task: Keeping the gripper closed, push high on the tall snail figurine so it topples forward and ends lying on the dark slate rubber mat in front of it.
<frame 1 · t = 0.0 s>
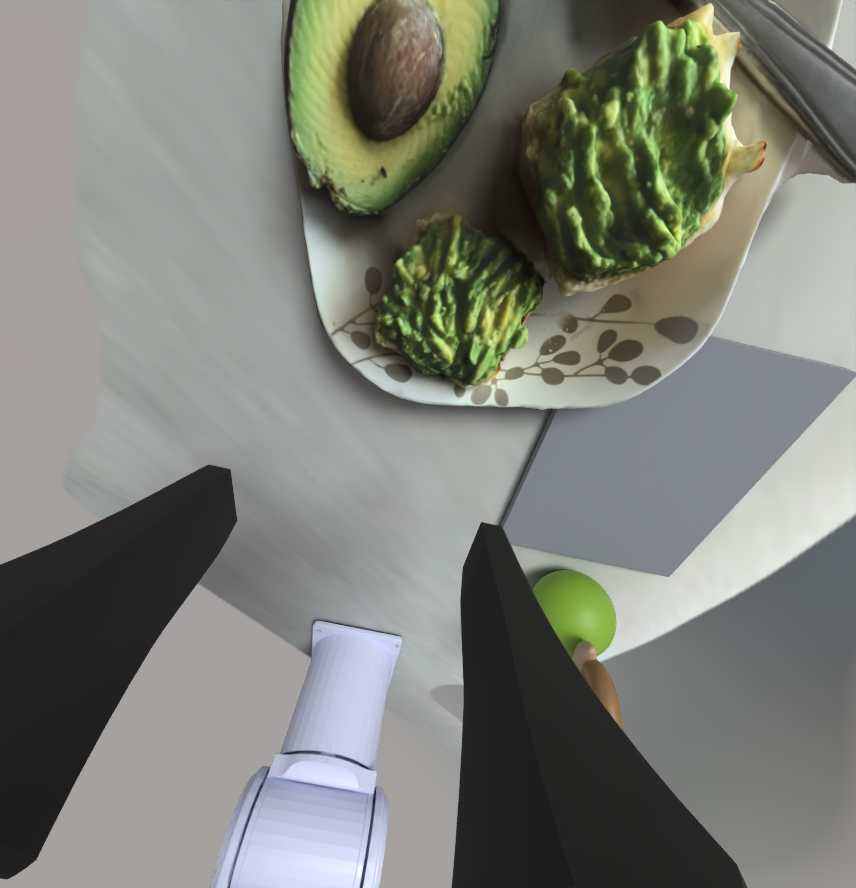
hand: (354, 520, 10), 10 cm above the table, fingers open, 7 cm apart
snail figurine: (560, 580, 27), on the table
slate mat: (638, 467, 21), on the table
salad plate: (506, 188, 14), on the table, touching slate mat
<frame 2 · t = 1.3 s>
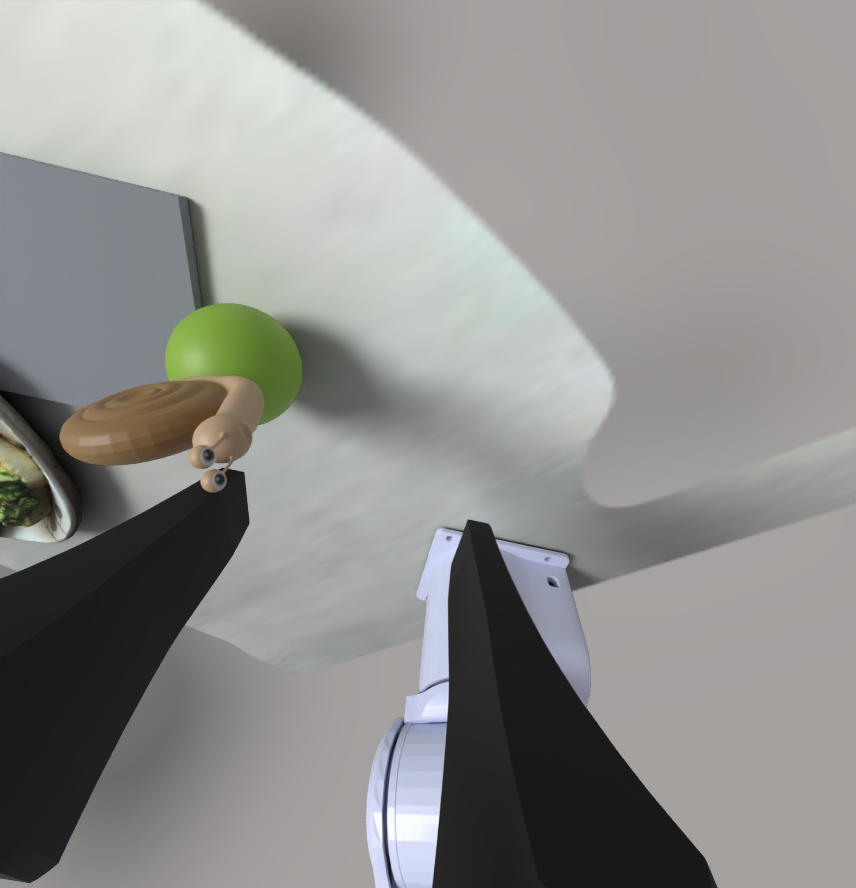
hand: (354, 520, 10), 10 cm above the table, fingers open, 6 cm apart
snail figurine: (273, 349, 19), on the table, touching gripper
slate mat: (59, 301, 18), on the table
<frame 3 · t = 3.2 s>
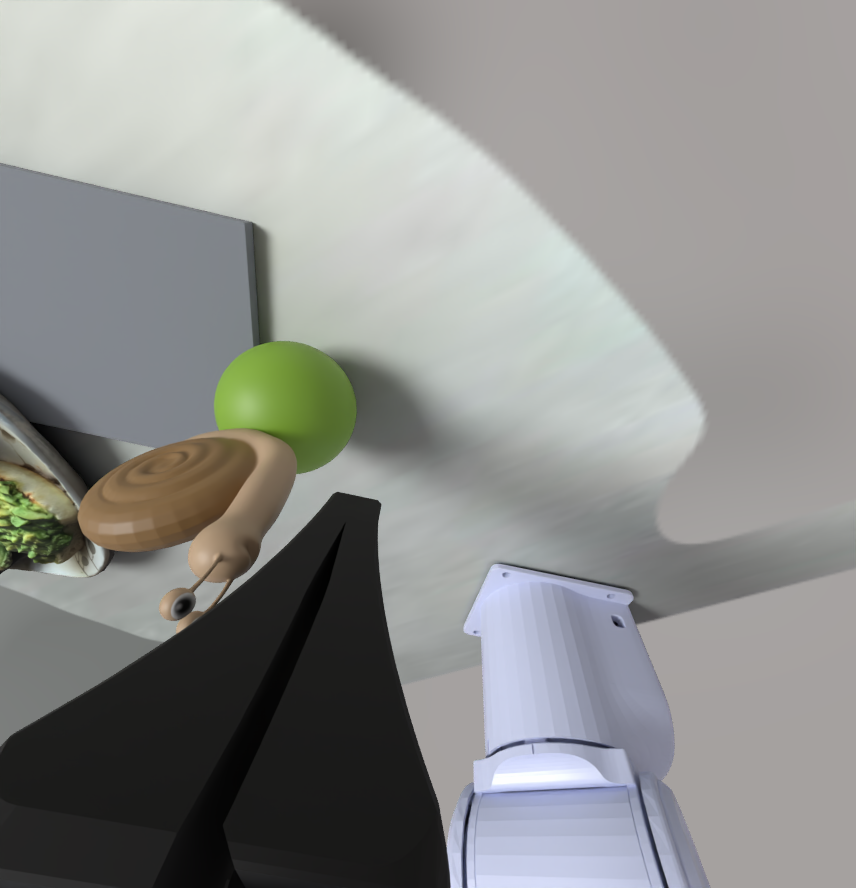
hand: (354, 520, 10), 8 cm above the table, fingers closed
snail figurine: (332, 383, 17), on the table
slate mat: (103, 331, 17), on the table
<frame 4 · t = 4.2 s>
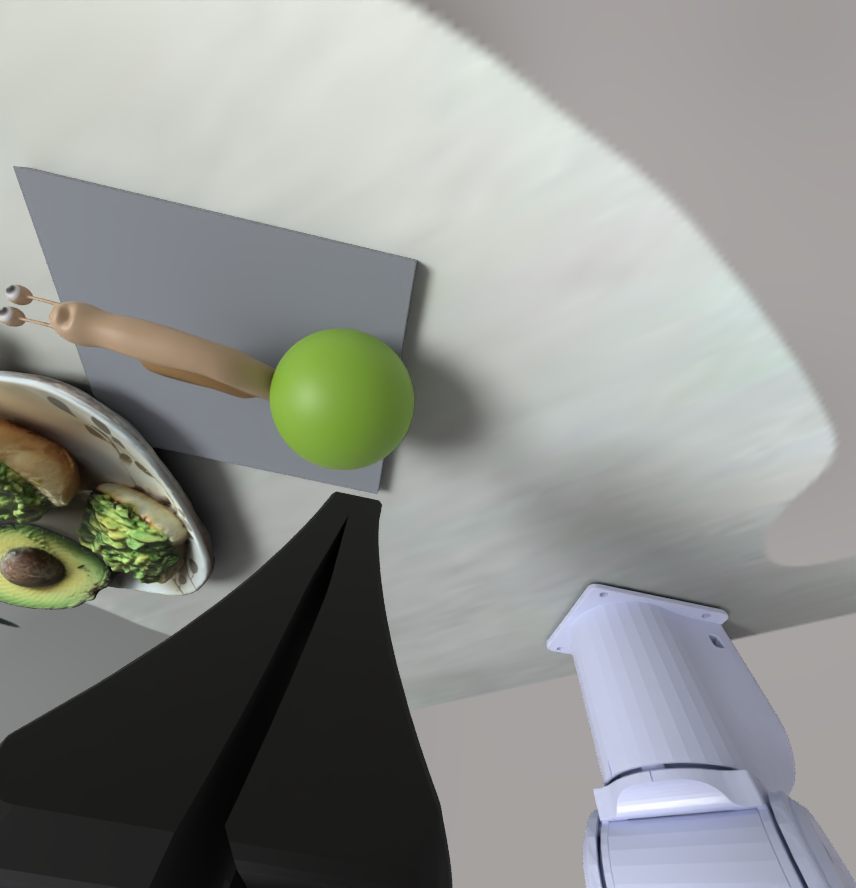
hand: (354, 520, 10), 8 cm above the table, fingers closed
snail figurine: (418, 415, 14), point 4 cm above the table, touching slate mat
slate mat: (240, 360, 17), on the table
salad plate: (83, 491, 23), on the table, touching slate mat
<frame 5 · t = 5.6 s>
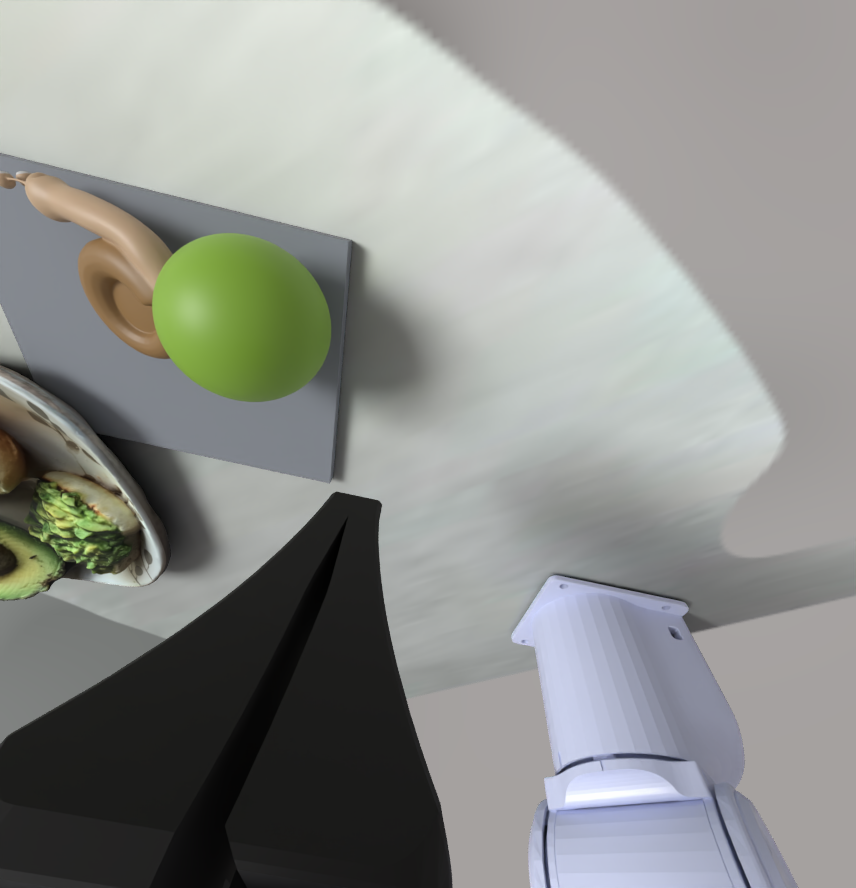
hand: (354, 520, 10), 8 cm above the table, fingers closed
snail figurine: (321, 324, 12), point 4 cm above the table, touching slate mat
slate mat: (182, 344, 17), on the table
salad plate: (34, 480, 22), on the table, touching slate mat
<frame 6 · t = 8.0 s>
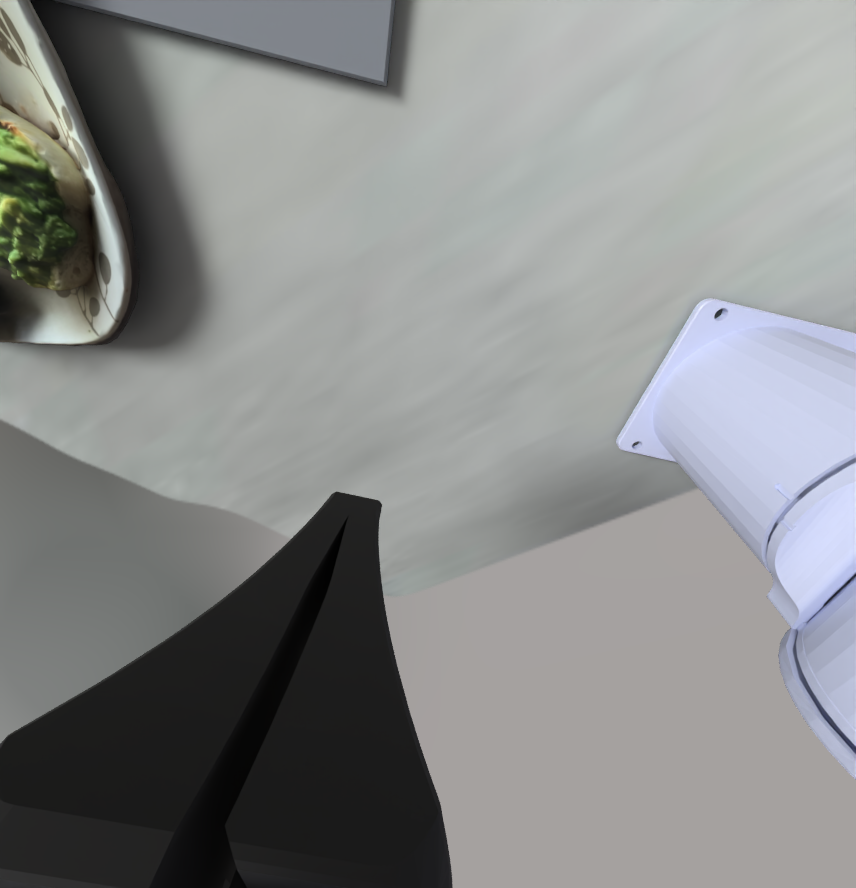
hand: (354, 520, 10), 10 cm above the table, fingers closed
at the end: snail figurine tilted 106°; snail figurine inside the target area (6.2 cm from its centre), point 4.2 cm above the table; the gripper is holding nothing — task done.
